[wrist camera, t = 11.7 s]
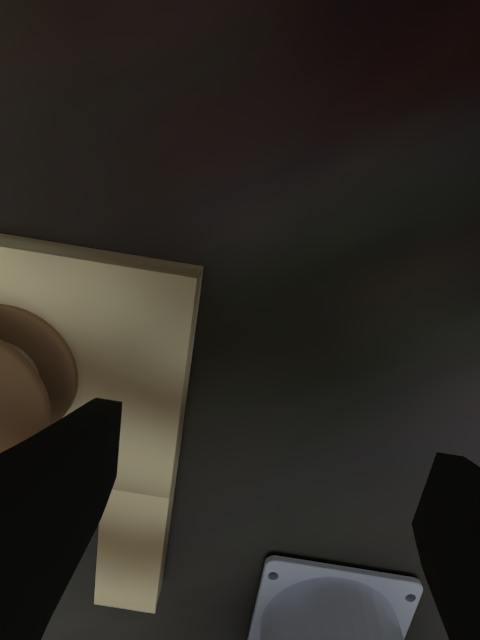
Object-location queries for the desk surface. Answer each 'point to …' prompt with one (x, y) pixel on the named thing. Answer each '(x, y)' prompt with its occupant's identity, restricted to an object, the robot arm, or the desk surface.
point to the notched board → (104, 383)
